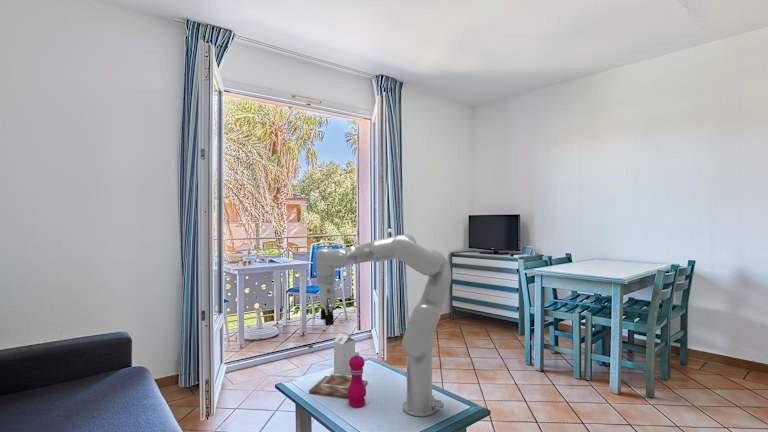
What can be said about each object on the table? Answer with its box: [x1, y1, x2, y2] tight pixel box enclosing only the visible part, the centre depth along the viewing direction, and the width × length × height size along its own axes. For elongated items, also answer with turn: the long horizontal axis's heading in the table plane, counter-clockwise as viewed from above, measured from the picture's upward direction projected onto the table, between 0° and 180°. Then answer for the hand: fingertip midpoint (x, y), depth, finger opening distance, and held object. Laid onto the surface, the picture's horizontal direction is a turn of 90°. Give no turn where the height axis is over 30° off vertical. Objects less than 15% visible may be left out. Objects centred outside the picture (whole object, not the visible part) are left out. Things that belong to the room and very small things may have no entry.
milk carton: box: [333, 330, 356, 376], centre depth 182 cm, size 7×7×19 cm
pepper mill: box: [348, 351, 367, 409], centre depth 152 cm, size 7×7×20 cm
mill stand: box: [308, 373, 369, 400], centre depth 166 cm, size 20×16×3 cm
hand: (327, 322), depth 158 cm, fingers open, 9 cm apart
